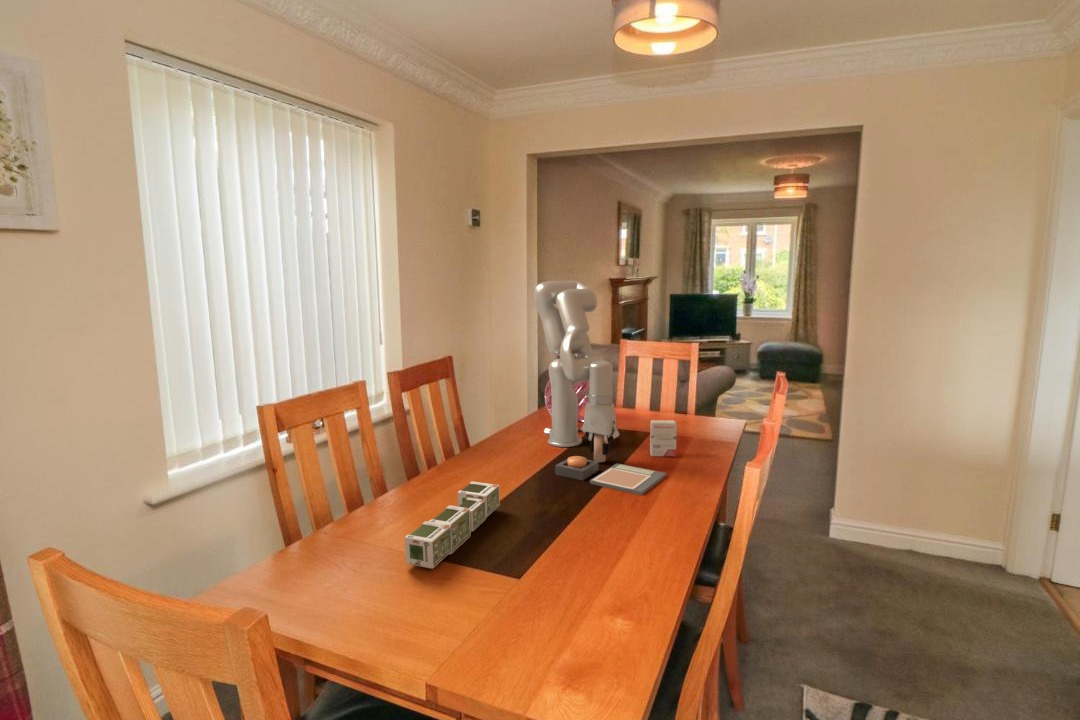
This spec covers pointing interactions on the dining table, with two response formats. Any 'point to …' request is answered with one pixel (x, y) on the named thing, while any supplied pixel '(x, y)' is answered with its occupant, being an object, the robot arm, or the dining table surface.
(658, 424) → the ink box
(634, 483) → the picture board
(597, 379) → the robot arm
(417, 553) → the row of white-green cartons
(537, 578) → the dining table surface
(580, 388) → the spiral basket
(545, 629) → the dining table surface
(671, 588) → the dining table surface
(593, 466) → the button housing
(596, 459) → the marker
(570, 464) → the button
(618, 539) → the dining table surface
